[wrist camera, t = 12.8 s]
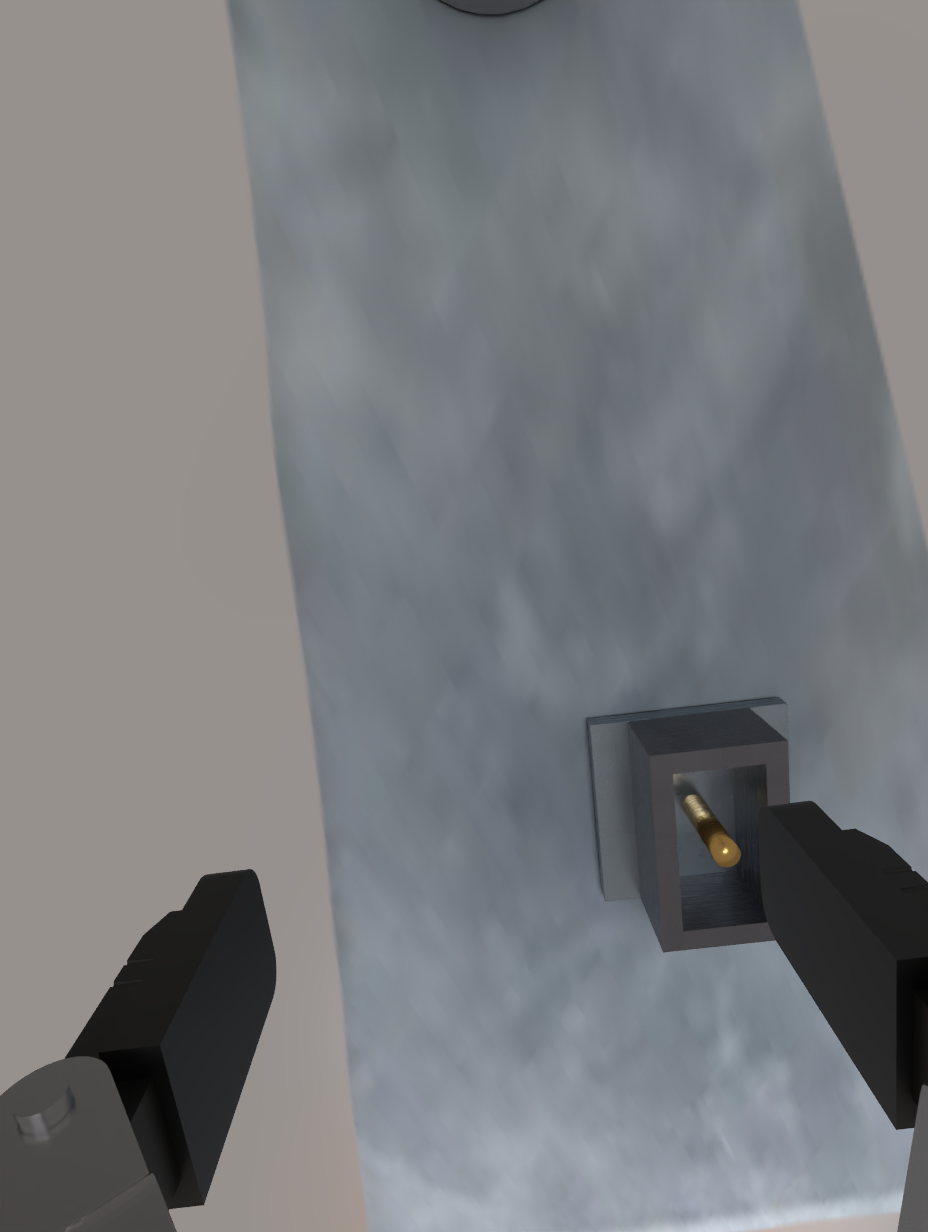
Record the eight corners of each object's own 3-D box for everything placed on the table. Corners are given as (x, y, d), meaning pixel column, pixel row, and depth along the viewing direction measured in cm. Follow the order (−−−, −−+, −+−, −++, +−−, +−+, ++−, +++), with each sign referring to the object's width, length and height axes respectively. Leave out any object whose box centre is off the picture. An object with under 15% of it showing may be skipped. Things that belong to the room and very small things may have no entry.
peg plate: (586, 718, 38) (609, 765, 33) (778, 697, 38) (836, 740, 32) (601, 890, 40) (625, 963, 35) (784, 871, 40) (839, 940, 34)
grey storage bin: (627, 721, 37) (649, 755, 33) (749, 707, 37) (787, 740, 33) (640, 897, 39) (663, 952, 35) (756, 885, 39) (793, 938, 35)
